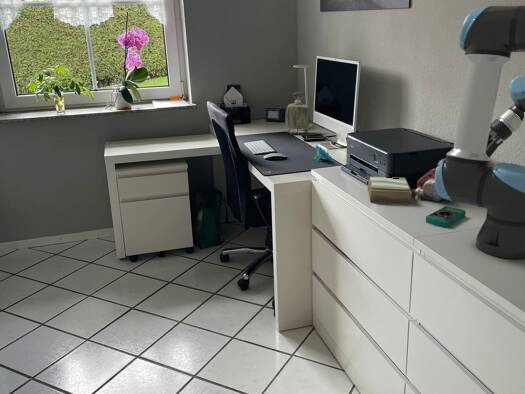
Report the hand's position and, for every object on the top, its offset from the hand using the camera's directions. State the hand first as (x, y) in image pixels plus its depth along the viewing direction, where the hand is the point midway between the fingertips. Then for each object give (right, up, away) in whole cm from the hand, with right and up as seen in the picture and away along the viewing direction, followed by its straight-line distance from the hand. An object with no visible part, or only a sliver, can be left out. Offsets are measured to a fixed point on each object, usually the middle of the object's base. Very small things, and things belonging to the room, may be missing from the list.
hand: (456, 166), depth 182 cm
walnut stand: (-23, -10, +6) cm, 26 cm away
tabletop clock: (-49, +27, +123) cm, 135 cm away
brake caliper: (-8, -12, +3) cm, 15 cm away
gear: (-41, +6, +58) cm, 71 cm away
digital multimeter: (-11, -19, -18) cm, 28 cm away
